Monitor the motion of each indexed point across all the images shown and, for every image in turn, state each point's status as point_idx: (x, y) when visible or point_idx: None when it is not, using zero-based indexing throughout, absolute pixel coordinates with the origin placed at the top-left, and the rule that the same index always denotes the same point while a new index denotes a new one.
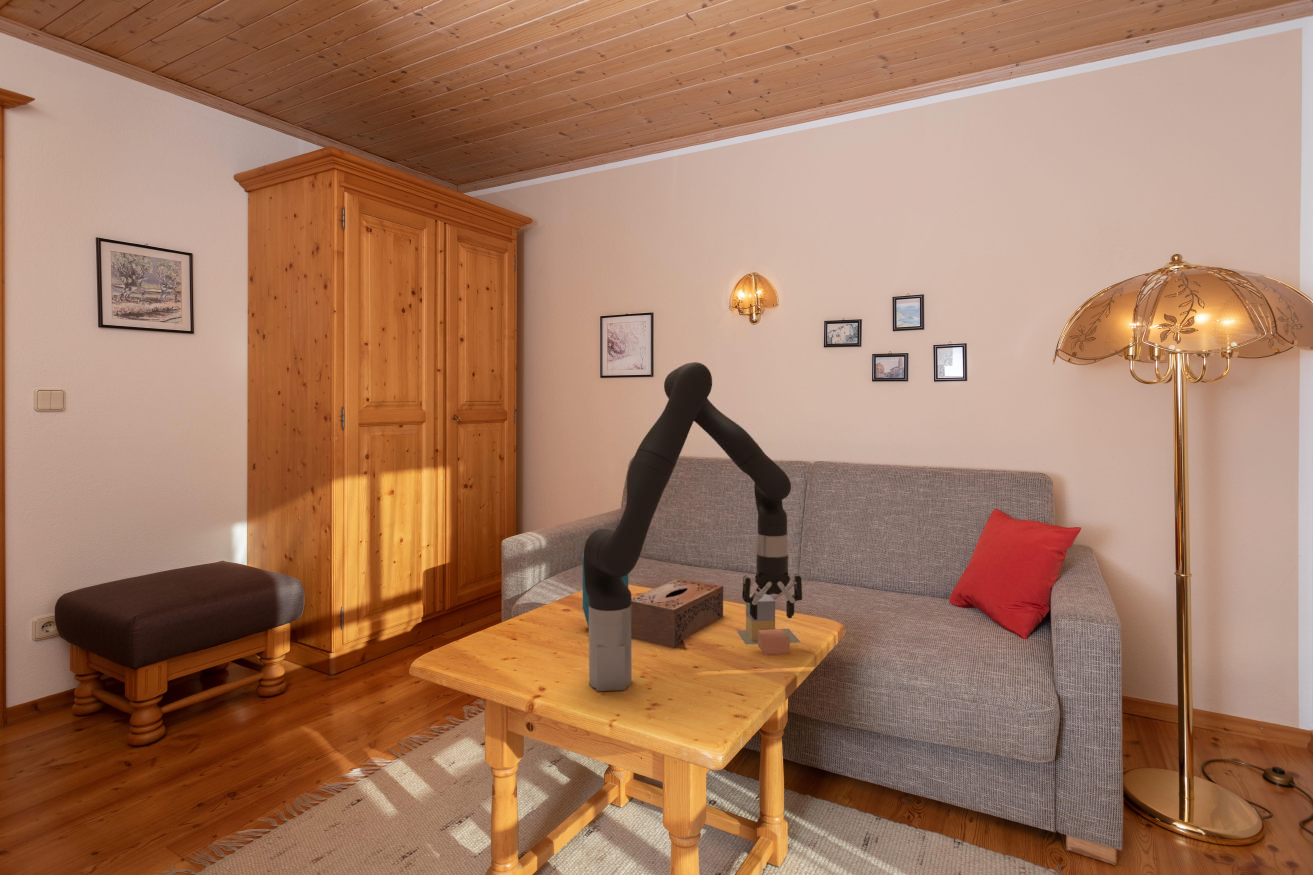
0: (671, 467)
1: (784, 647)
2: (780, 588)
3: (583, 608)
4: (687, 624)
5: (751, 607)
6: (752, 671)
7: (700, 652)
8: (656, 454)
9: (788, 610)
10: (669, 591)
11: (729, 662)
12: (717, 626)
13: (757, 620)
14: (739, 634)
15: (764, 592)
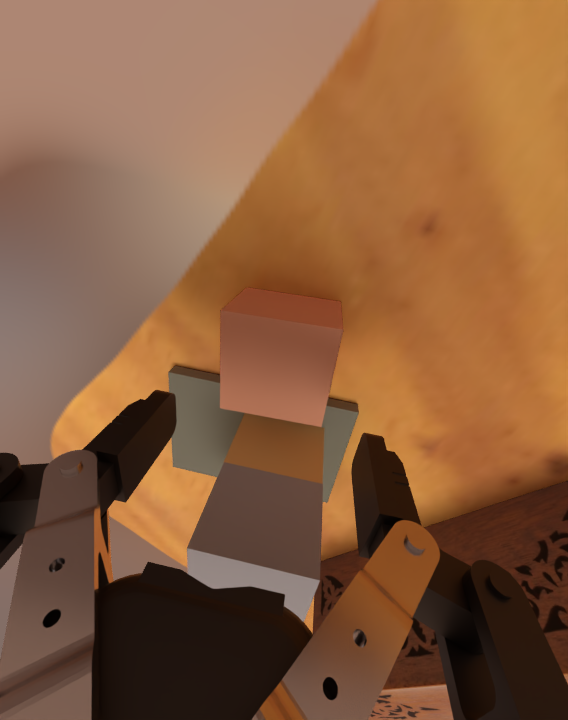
0: None
1: (256, 301)
2: (90, 644)
3: None
4: (533, 557)
5: (415, 511)
6: (471, 182)
7: (532, 419)
8: None
9: (151, 428)
10: None
11: (497, 307)
12: (350, 542)
13: (298, 480)
14: (335, 478)
15: (329, 636)
